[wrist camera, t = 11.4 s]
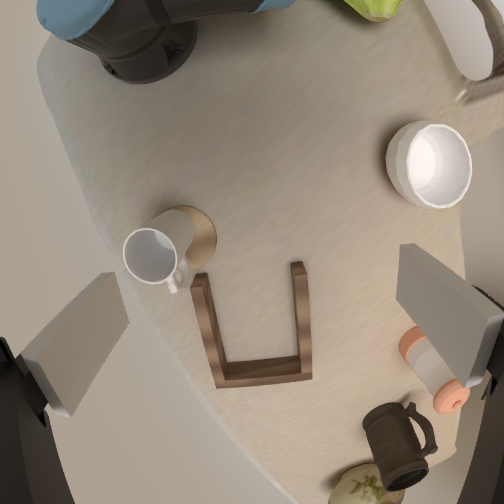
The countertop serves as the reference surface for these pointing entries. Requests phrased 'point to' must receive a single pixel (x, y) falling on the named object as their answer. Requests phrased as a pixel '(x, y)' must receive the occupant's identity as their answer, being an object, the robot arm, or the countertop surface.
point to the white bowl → (429, 164)
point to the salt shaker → (433, 372)
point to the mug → (161, 250)
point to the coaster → (199, 238)
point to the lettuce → (376, 8)
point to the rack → (257, 369)
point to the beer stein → (399, 445)
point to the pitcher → (363, 488)
